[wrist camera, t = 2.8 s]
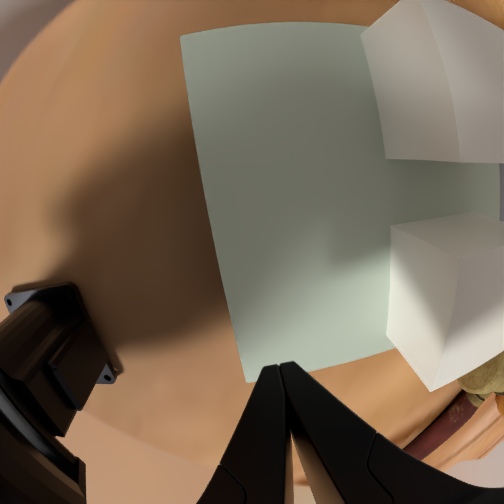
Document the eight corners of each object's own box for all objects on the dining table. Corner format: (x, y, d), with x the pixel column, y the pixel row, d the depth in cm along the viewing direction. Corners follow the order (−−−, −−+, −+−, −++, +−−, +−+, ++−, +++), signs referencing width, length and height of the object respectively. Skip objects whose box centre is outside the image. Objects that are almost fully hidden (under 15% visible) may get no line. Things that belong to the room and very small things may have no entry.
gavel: (401, 493, 19) (340, 503, 18) (391, 466, 24) (332, 469, 22) (537, 368, 13) (513, 356, 11) (513, 343, 17) (480, 322, 15)
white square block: (386, 334, 11) (430, 391, 7) (390, 225, 10) (459, 259, 6) (462, 307, 11) (510, 345, 7) (473, 211, 10) (536, 234, 6)
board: (244, 349, 14) (246, 382, 11) (189, 59, 10) (179, 35, 7) (462, 293, 14) (486, 310, 11) (451, 64, 10) (479, 55, 7)
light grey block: (385, 159, 9) (460, 162, 5) (360, 35, 7) (414, -12, 4) (471, 157, 9) (538, 165, 5) (451, 53, 7) (510, 34, 4)
